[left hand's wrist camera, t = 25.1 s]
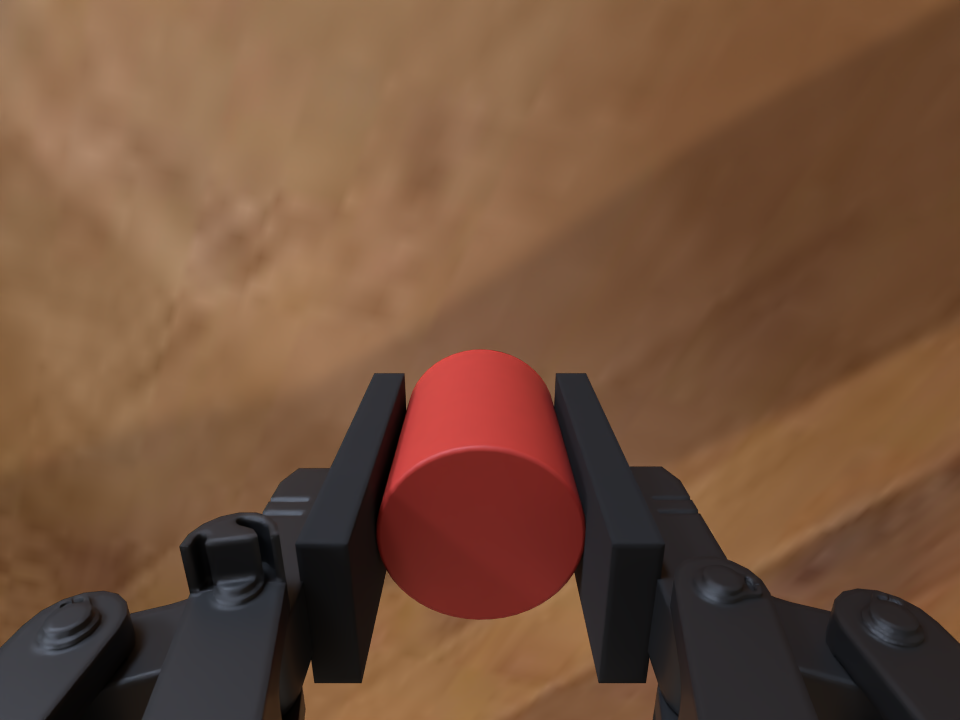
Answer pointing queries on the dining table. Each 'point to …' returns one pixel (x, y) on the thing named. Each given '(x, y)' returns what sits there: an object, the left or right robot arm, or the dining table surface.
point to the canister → (480, 491)
